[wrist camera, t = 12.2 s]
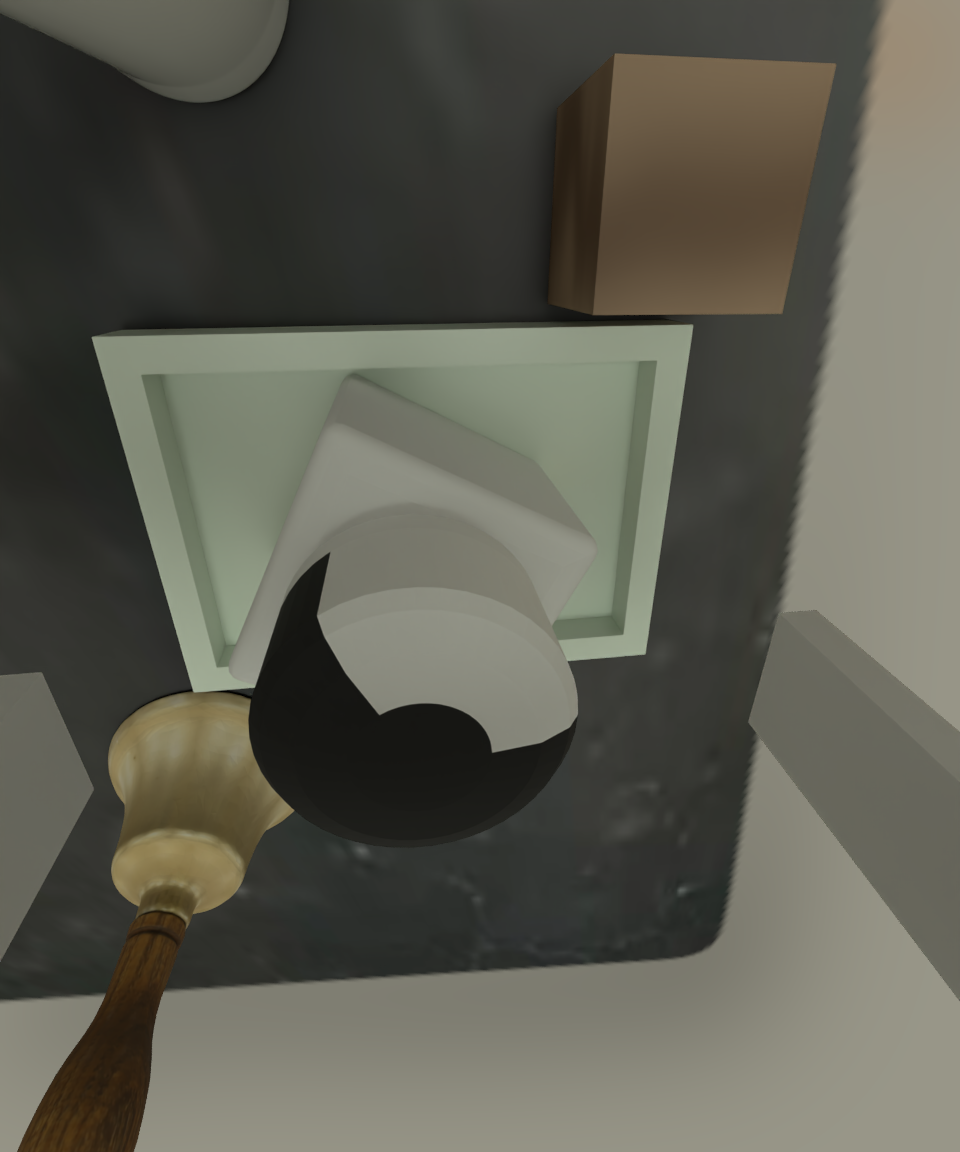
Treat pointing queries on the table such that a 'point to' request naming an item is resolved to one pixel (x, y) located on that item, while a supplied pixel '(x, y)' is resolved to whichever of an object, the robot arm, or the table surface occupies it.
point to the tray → (428, 378)
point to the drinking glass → (167, 39)
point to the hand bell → (159, 898)
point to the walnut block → (683, 184)
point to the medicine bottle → (413, 629)
